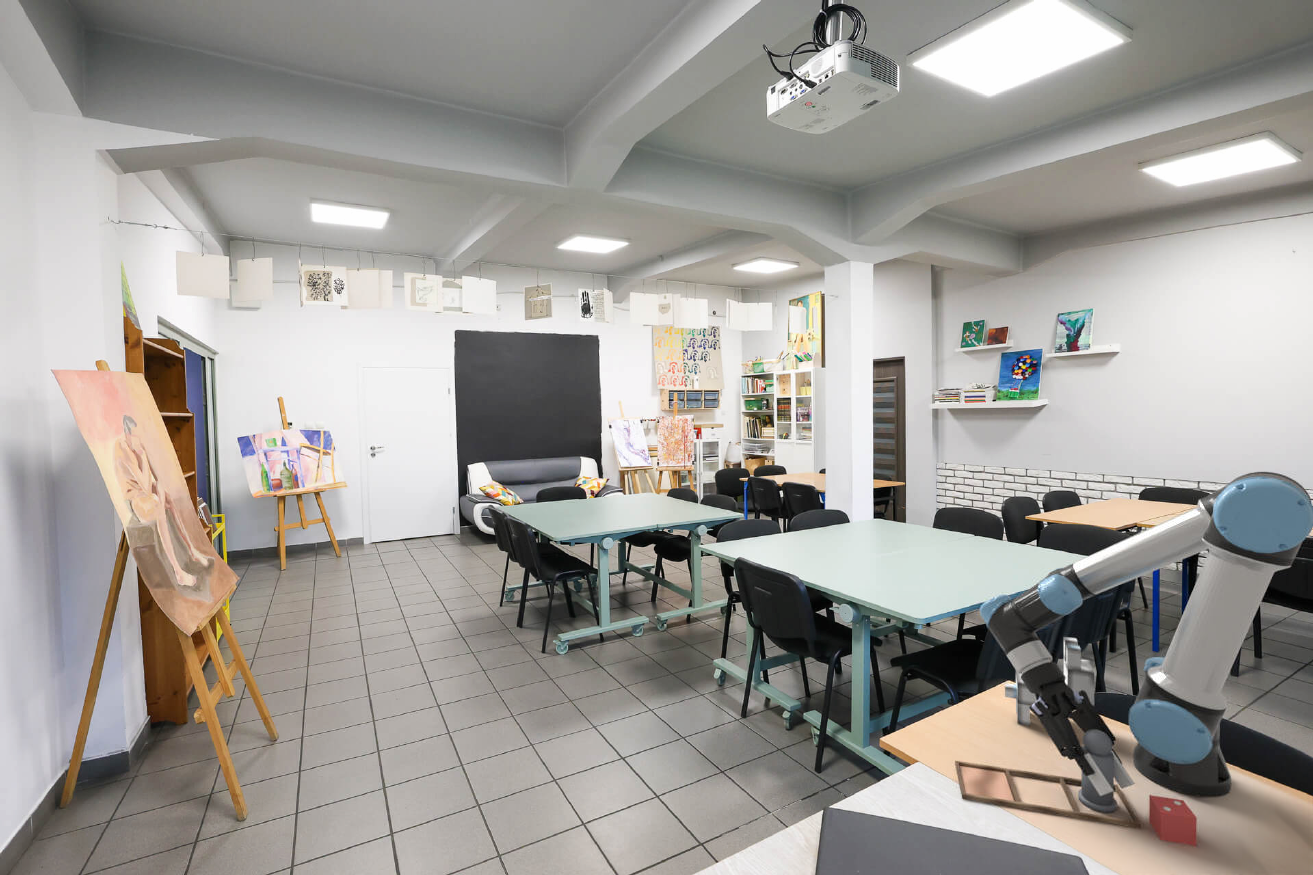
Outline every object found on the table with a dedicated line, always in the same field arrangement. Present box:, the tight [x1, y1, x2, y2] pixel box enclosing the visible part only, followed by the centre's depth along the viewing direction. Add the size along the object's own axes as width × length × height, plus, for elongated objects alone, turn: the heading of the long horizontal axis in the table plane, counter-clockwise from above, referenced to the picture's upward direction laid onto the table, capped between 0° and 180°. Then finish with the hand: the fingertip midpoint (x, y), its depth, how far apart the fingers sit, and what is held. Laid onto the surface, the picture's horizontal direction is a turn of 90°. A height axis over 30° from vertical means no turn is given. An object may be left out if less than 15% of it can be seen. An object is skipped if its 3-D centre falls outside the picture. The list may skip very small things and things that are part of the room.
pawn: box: [1077, 729, 1118, 814], centre depth 117 cm, size 6×6×14 cm
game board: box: [954, 760, 1142, 829], centre depth 121 cm, size 29×12×1 cm, turn 70°
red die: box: [1148, 794, 1198, 847], centre depth 109 cm, size 5×5×5 cm
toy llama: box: [1004, 636, 1095, 727], centre depth 147 cm, size 8×18×20 cm, turn 62°
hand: (1117, 789), depth 114 cm, fingers closed on pawn, 5 cm apart
